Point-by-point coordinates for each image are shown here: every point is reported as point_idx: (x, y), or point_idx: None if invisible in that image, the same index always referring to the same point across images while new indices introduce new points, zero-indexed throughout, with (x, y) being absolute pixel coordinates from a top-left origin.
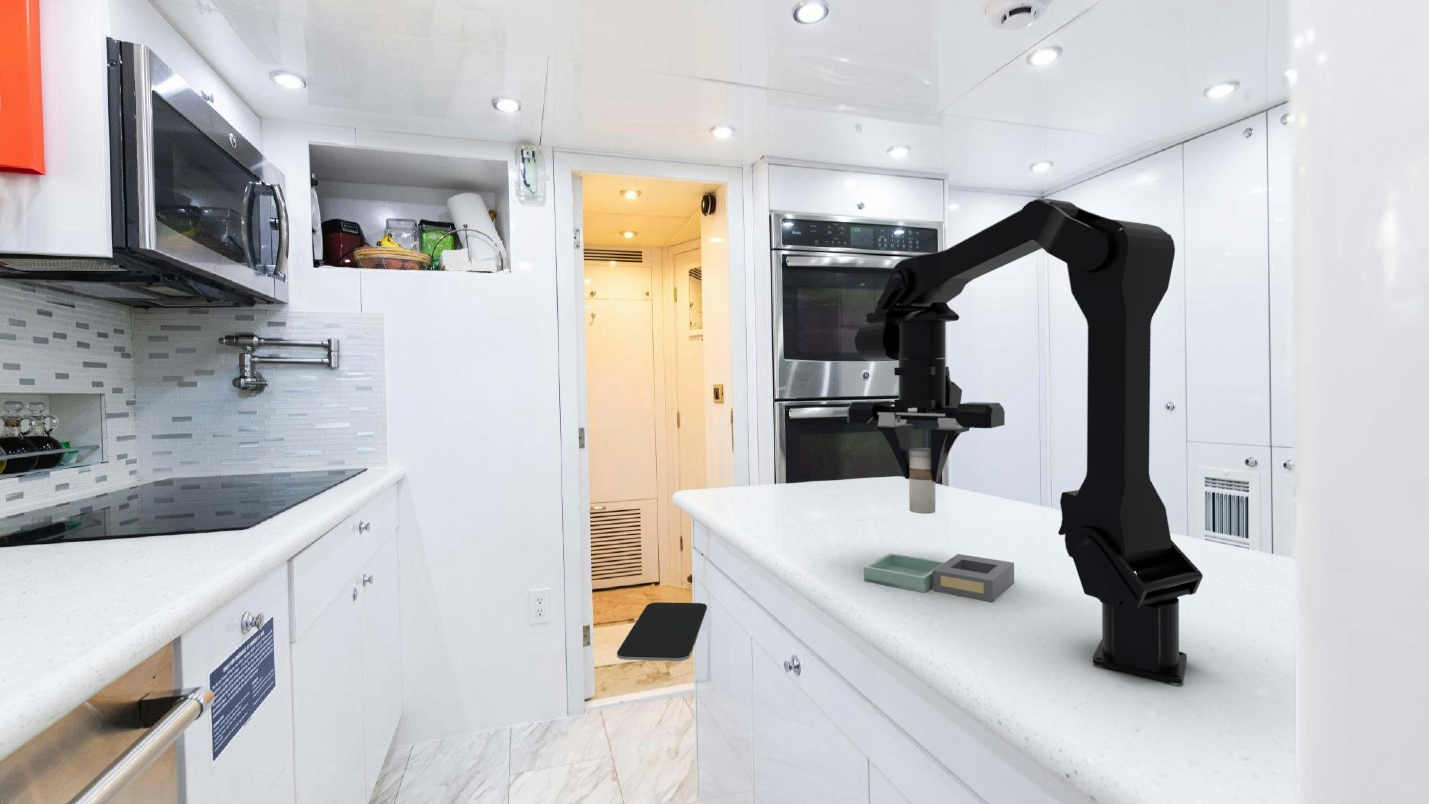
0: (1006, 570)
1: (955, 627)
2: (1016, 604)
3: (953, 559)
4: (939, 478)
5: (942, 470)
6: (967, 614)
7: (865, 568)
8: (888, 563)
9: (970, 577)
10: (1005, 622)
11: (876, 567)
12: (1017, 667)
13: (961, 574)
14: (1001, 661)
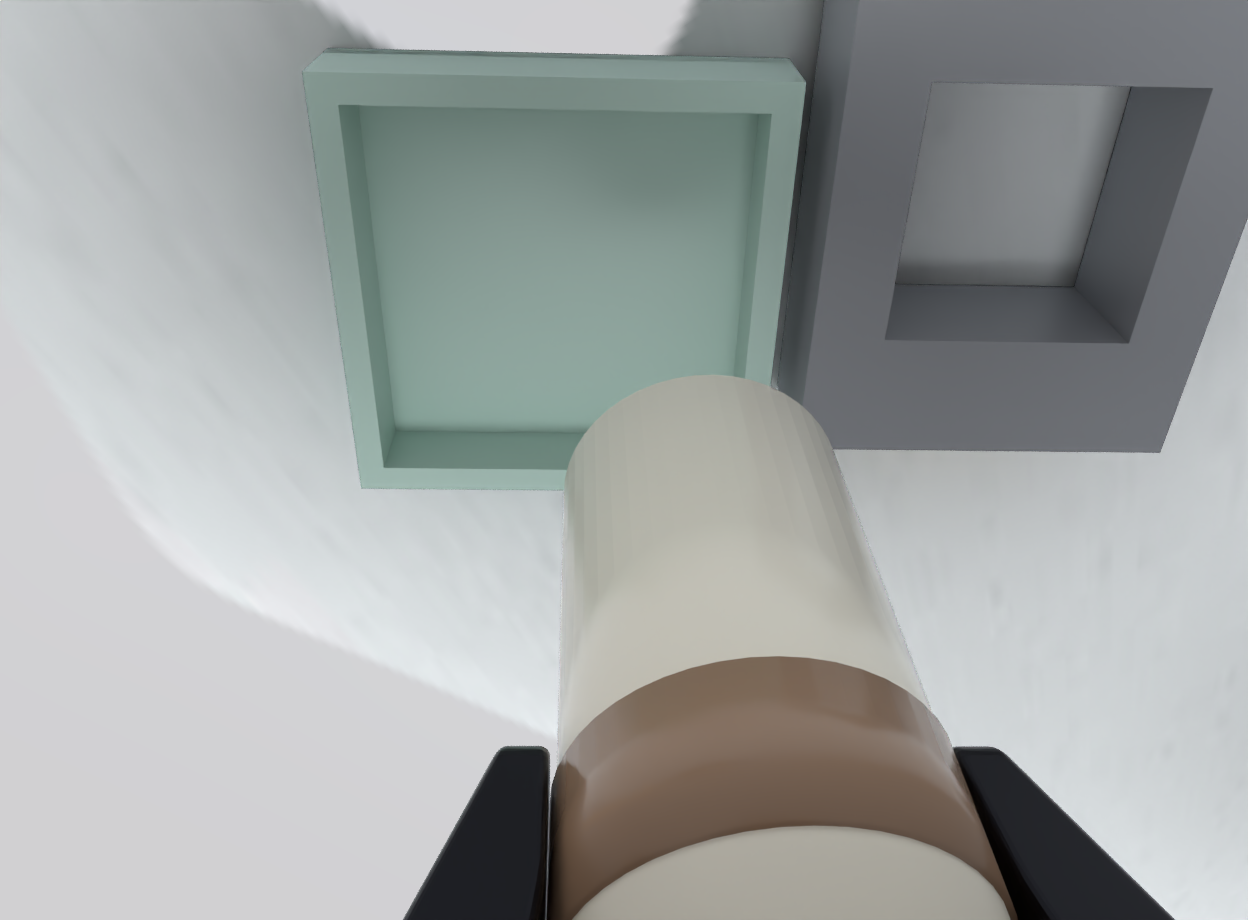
0: None
1: (965, 715)
2: (1226, 352)
3: (868, 122)
4: (1019, 775)
5: (1122, 876)
6: (995, 586)
7: (374, 484)
8: (358, 160)
9: (1029, 450)
10: (1155, 587)
11: (376, 355)
12: (1172, 853)
13: (975, 436)
14: (1128, 844)
